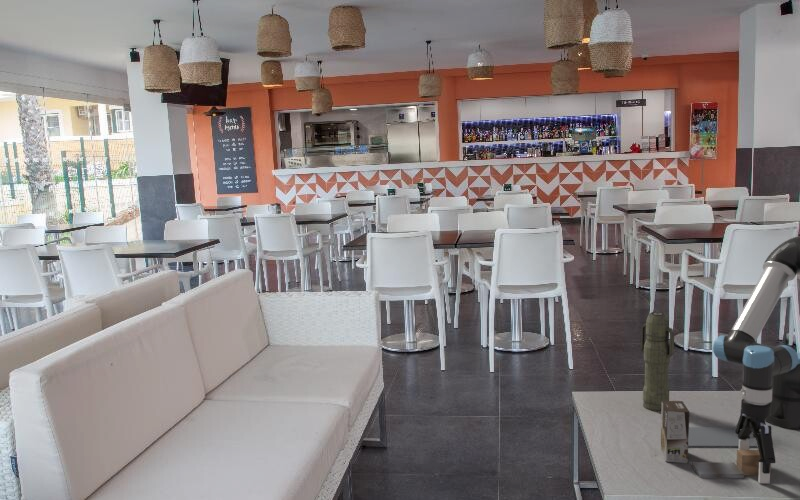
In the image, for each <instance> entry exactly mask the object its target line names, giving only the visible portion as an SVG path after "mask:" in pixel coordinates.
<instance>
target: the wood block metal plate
mask: <svg viewBox="0 0 800 500" xmlns="http://www.w3.org/2000/svg"><path fill="white" fill-rule="evenodd" d="M760 459H761V457H760V453H759V449H749V450H739V449H737V450H736V462H728V461H727V462H726V461H725V462H724V461H723V462H721V461H720V462H719V461H718V462H716V461H715V462H712V461H711V462H710V461H709V462H704V461H702V462H701V461H697V462H696V461H693V462H691V467H692V468H693V470H694V471H695V473H696V474H697V475H698V476H699V478H700V479H702V478H703V479H704V478H705V479H706V478H707V479H708V478H709V479H711V478H712V479H715V478H716V479H717V478H718V479H719V478H720V479H745V476H759V461H758V460H760ZM771 474H772V464H771V465H770V476H771Z"/></svg>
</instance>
